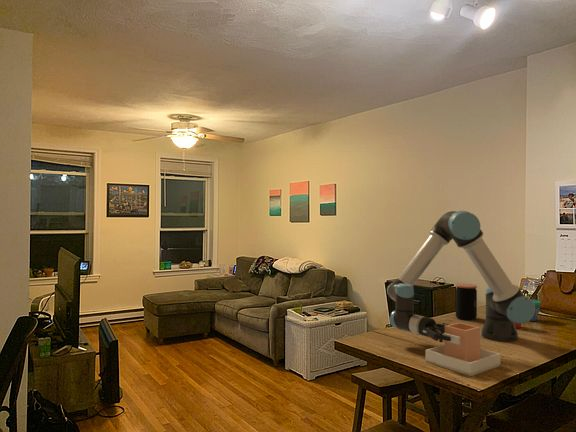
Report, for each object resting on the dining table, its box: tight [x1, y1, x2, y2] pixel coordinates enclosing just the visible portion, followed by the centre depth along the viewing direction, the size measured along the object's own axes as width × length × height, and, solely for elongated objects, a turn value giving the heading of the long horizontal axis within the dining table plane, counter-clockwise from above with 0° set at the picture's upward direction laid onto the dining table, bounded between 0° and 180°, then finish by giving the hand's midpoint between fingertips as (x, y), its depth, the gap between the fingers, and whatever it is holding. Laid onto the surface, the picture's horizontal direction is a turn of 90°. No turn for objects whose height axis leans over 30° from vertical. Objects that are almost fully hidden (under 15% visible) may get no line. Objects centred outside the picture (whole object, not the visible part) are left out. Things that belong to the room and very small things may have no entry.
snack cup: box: [529, 299, 542, 322], centre depth 238 cm, size 16×10×10 cm
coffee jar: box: [455, 283, 478, 321], centre depth 241 cm, size 11×11×18 cm
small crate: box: [444, 322, 481, 362], centre depth 168 cm, size 9×9×13 cm
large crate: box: [425, 344, 501, 377], centre depth 168 cm, size 19×19×4 cm
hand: (470, 337), depth 165 cm, fingers open, 13 cm apart
